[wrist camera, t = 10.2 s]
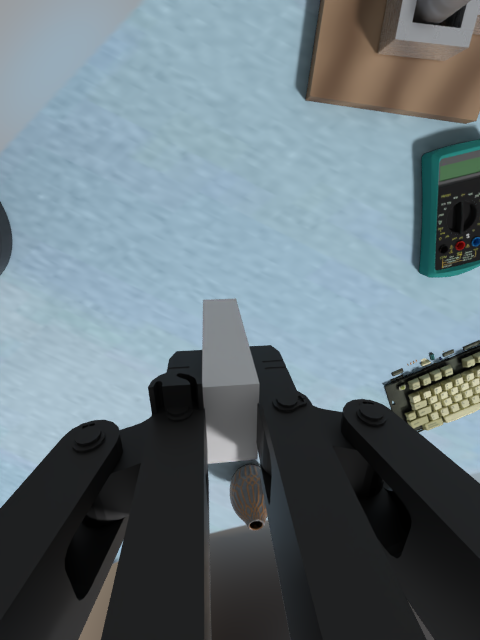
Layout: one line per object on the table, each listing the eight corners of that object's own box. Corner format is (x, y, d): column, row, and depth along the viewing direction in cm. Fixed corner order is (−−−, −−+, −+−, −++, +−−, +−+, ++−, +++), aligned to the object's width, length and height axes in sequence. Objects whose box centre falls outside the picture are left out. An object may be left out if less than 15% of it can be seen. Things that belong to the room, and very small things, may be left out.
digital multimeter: (416, 277, 40) (431, 283, 37) (418, 153, 34) (436, 149, 31) (470, 264, 40) (488, 269, 37) (481, 137, 34) (505, 132, 31)
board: (305, 100, 31) (327, 78, 25) (338, -117, 25) (377, -212, 19) (465, 123, 33) (521, 108, 27) (529, -72, 27) (618, -145, 21)
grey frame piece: (377, 53, 28) (395, 39, 26) (395, -47, 26) (417, -75, 23) (501, 67, 30) (530, 54, 27) (530, -28, 27) (566, -52, 24)
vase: (276, 464, 51) (288, 515, 43) (257, 491, 53) (265, 545, 45) (240, 452, 49) (245, 504, 41) (221, 481, 51) (223, 535, 43)
